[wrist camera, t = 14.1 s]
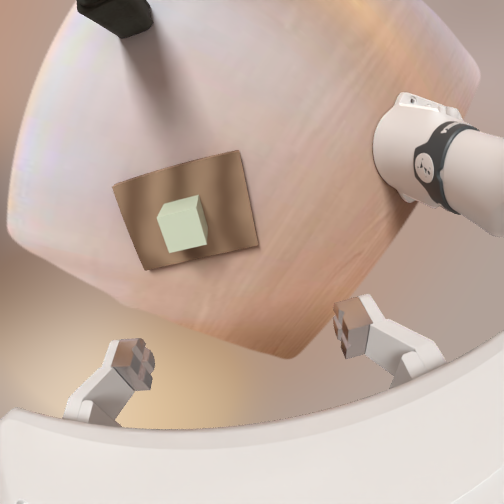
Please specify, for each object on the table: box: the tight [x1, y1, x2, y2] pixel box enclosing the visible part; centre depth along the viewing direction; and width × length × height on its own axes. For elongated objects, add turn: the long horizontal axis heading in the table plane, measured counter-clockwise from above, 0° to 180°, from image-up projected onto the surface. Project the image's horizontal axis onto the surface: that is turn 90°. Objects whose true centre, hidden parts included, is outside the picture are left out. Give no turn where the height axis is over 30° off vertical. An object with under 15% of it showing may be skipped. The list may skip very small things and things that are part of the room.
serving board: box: [112, 150, 258, 271], centre depth 37 cm, size 18×14×2 cm
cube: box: [157, 195, 208, 253], centre depth 34 cm, size 5×5×5 cm
